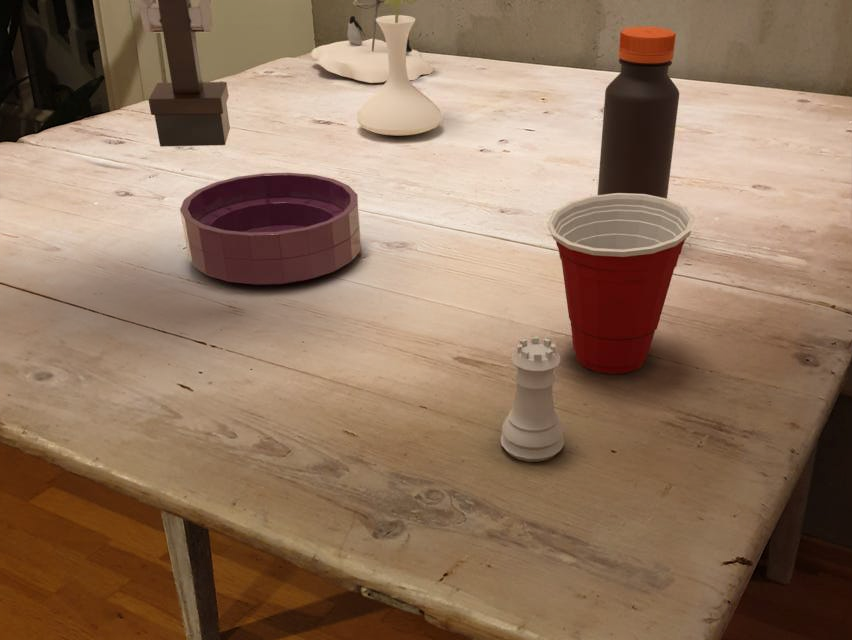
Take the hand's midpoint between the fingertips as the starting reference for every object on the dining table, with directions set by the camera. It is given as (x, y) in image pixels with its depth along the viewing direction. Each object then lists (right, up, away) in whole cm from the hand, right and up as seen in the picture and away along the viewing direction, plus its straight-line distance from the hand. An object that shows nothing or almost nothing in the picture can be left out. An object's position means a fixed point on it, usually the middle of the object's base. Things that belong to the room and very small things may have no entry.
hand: (178, 31), depth 72 cm
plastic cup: (+33, -24, +6) cm, 41 cm away
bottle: (+38, -11, +25) cm, 47 cm away
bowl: (+3, -12, +22) cm, 26 cm away
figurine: (+5, +30, +84) cm, 89 cm away
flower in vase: (+12, +11, +57) cm, 60 cm away
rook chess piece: (+26, -31, -5) cm, 41 cm away
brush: (0, -6, +5) cm, 8 cm away
